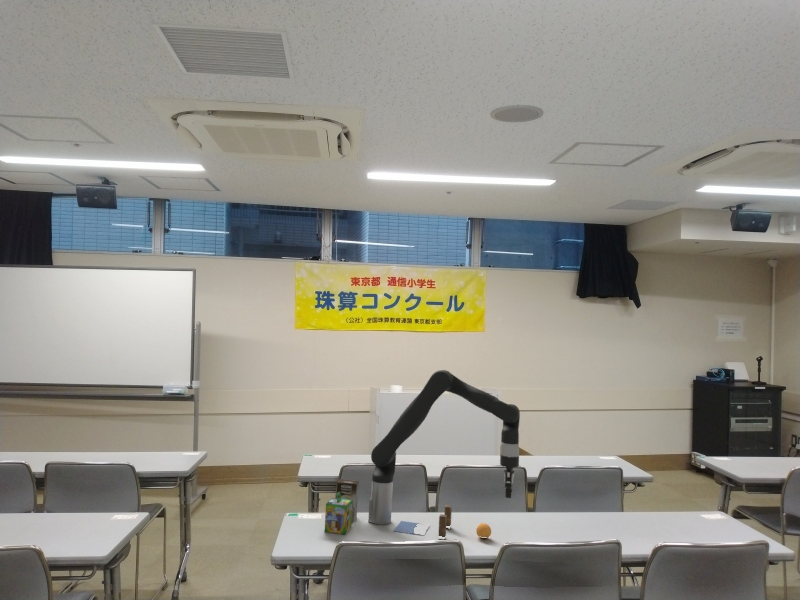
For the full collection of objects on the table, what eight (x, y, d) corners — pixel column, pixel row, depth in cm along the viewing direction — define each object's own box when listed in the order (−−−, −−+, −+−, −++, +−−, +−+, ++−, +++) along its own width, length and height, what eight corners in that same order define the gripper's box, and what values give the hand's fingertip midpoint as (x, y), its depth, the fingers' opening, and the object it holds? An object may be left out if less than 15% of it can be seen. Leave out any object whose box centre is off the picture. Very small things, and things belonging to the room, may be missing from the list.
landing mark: (393, 531, 211) (393, 530, 211) (401, 521, 224) (401, 520, 224) (423, 535, 208) (424, 535, 208) (430, 525, 220) (430, 525, 220)
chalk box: (345, 535, 204) (347, 497, 206) (323, 532, 206) (326, 495, 207) (352, 527, 213) (354, 491, 215) (331, 525, 215) (333, 489, 216)
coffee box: (333, 520, 221) (336, 482, 222) (337, 515, 227) (339, 478, 229) (354, 522, 220) (356, 483, 221) (357, 517, 226) (359, 480, 228)
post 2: (443, 528, 218) (444, 506, 218) (444, 526, 220) (445, 505, 221) (449, 529, 217) (450, 507, 218) (450, 527, 219) (451, 505, 220)
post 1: (438, 539, 205) (439, 516, 206) (439, 537, 208) (440, 514, 208) (444, 540, 204) (445, 517, 205) (445, 537, 207) (446, 515, 208)
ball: (475, 540, 206) (475, 524, 207) (476, 535, 212) (477, 520, 212) (490, 542, 204) (490, 527, 205) (491, 537, 210) (492, 522, 211)
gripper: (501, 450, 217) (500, 489, 215) (499, 456, 203) (498, 498, 202) (519, 451, 215) (518, 491, 213) (518, 458, 201) (517, 500, 200)
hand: (508, 494), depth 207 cm, fingers open, 8 cm apart
